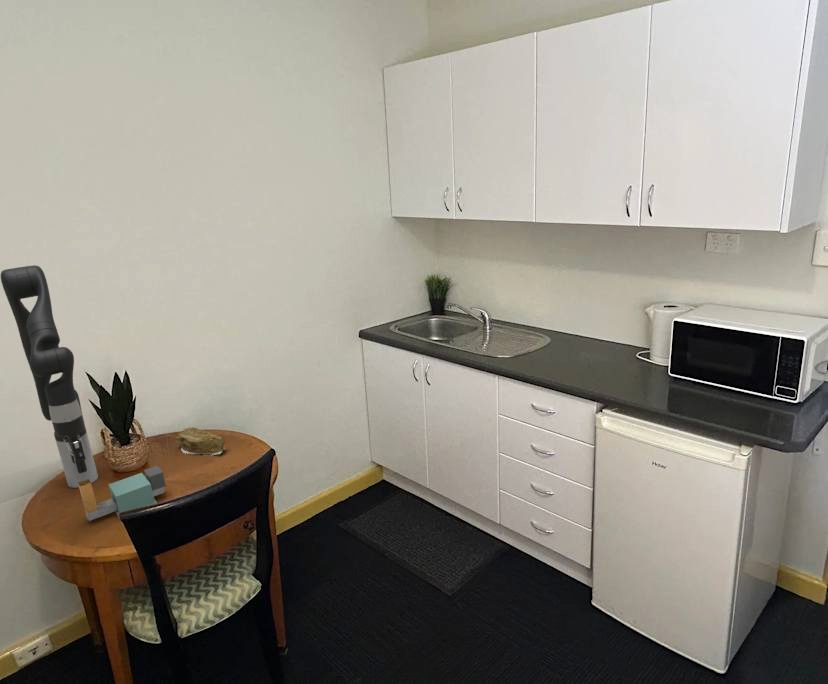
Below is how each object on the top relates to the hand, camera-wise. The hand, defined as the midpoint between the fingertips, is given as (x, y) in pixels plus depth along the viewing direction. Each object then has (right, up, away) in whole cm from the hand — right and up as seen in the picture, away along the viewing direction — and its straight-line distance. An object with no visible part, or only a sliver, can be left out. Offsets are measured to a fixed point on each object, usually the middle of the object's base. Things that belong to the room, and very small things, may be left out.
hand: (79, 467), depth 170 cm
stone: (+19, -4, +47) cm, 51 cm away
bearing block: (+10, -15, +12) cm, 22 cm away
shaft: (+9, -14, +11) cm, 19 cm away
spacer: (+16, -9, +15) cm, 24 cm away
